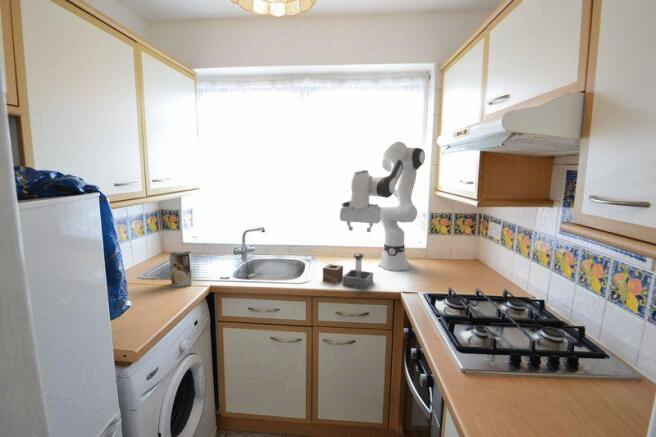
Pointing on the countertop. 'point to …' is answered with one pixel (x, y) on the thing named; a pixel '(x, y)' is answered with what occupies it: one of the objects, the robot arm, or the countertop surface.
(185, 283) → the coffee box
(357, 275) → the steel pin
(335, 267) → the walnut hitch block
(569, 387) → the countertop surface
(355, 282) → the charcoal tray
